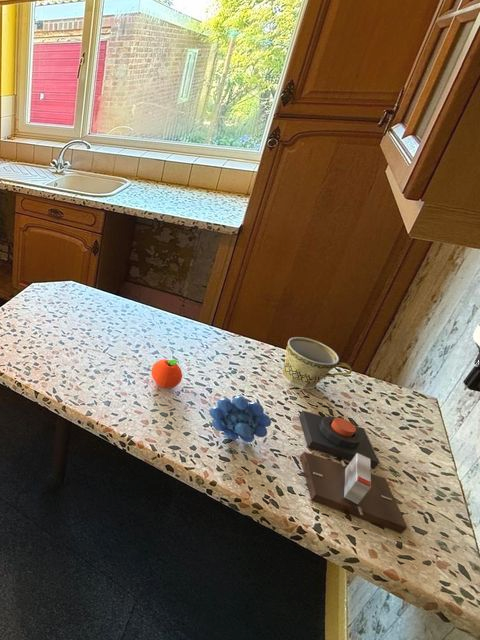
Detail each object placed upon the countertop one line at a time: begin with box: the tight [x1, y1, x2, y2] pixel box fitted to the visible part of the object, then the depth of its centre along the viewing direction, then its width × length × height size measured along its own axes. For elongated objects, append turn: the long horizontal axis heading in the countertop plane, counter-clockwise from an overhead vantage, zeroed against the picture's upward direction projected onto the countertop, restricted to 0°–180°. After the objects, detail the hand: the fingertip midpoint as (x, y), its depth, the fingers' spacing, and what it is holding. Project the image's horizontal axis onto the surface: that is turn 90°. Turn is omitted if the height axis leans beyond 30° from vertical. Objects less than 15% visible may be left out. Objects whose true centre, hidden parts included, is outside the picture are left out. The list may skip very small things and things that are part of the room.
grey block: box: [344, 453, 372, 504], centre depth 75 cm, size 8×2×5 cm, turn 138°
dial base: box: [299, 451, 408, 534], centre depth 76 cm, size 13×12×2 cm
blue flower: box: [208, 395, 272, 443], centre depth 84 cm, size 12×7×12 cm, turn 74°
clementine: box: [151, 358, 183, 389], centre depth 100 cm, size 8×7×7 cm
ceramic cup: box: [281, 336, 353, 390], centre depth 99 cm, size 13×10×10 cm
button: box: [331, 417, 356, 437], centre depth 85 cm, size 4×4×2 cm
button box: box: [298, 410, 380, 470], centre depth 86 cm, size 11×9×4 cm
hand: (477, 388), depth 70 cm, fingers closed
